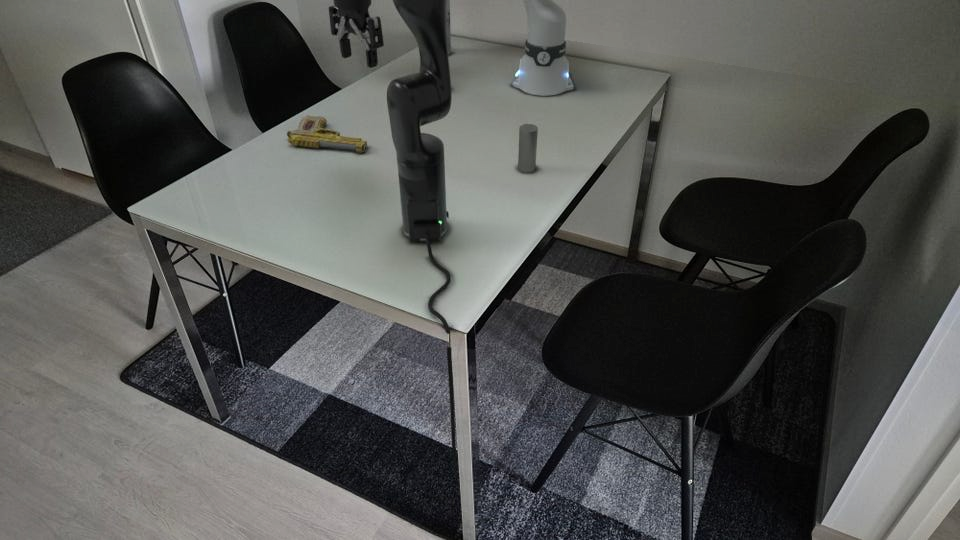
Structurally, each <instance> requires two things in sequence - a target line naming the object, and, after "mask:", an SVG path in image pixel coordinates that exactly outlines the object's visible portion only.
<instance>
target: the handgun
mask: <svg viewBox="0 0 960 540" xmlns="http://www.w3.org/2000/svg"><path fill="white" fill-rule="evenodd" d="M327 122H328V121H327V119H326V117H324V116H317V115H303V116H302V117H301V118H300V121H299V122H298V123H299V124H298V128H297V129H293V130H291V129H290V130H289V129H288V130H287V131H286V136H287V142H288V143H292V144H293V145H294V146H298V147H305V148H306V147H307V148H315V149H319V148H321V147H322V148H330V149H337V150H347V151H355V152H356V153H360V154H363V153H364V152H366V151H367V147H368V141H367V140H362V139H363V138H362V137H354V136H342V135H341V132H340V131H338V130H333V129H326V128H324V127H325V125H327Z"/></svg>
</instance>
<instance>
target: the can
mask: <svg viewBox="0 0 960 540" xmlns="http://www.w3.org/2000/svg"><path fill="white" fill-rule="evenodd" d="M518 131H519V133H518V155H517V156H518V157H517V158H518V159H517V170H518V171H519V172H520V173H524V174H530V173H533V172H535V171H536V167H537V148H538V133H539V132H538V131H539V127H538V126H537V125H535V124H532V123H524V124H521V125H519V130H518Z"/></svg>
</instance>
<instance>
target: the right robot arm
mask: <svg viewBox="0 0 960 540" xmlns="http://www.w3.org/2000/svg"><path fill="white" fill-rule="evenodd" d="M522 1H523V4H524V7H525V12H526V19H527V20H526V21H527V22H526V23H527V35H526V39H525V44H524V55H523V56H522V57H521V58H520V59H519V66H518V67H519V68H518V71H516V73H515V77H516V78H515V79H514V80H513V81H512V87H514V88H517V89H520V91H522V92H524V93H526V94H529V95H533V96H542V97H546V96H547V97H548V96H549V97H550V96H556V95H560V94H562V93H564V92H569V91H572V90H574V89H575V88H574V87H575V86H574V83H573V80H572V78H571V76H570V71H569V69H570V62H569V60H568V59H567V58H566V56H565V55H566V49H567V41H566V39H565V38H566V27H567V15H566V12H565V11H564V9H563V8H562V7H561V6H560V5H559V4H557V3H556V2H554V0H522Z"/></svg>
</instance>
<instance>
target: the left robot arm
mask: <svg viewBox="0 0 960 540" xmlns="http://www.w3.org/2000/svg"><path fill="white" fill-rule="evenodd" d="M332 1H333V5H330V6H328V16H329V26H330V34H331V35H332V36H335V37H336V39H337V41H338V42H339V49H340V54H341V58H342V59H347V58H350V57H352V46H351V39H350V38H349V37H350V35H351V34H353V35H355V36H356V37H357V38H358V41H359V42H362V44H363V46H364V48H365V56H366V65H367V68H369V69H372V68H375V67H377V66H378V63H379V59H378V49H379V48H383V47H384V37H383V36H384V35H383V29H382V21H381V20H382V19H381V17H380V15H379V16H371V14H370V12H369V8H370V7H371V5H372V0H332ZM392 3H393V6H394V8H395V10H396V11H397V12H398V15H399V16H400V17H401V19H402V20H403V22H404V23H405V25H406V26H407V28H408V30H409V31H410V32H411V35H413V37H414V39H415V40H416V44H417V47H418V52H419V71H418V72H415V73H411V74H407V75H403V76H400V77H397V78H394V79H392V80H391V81H390V82H389V84H388V85H387V88H386V105H387V111H388V118H389V125H390V131H391V132H390V133H391V139H392V143H393V146H394V150H395V153H396V154H395V155H396V163H397V176H398V185H399V197H400V208H401V218H402V219H401V220H402V233H403V234H404V236H405V237H406V238H407V239H408V240H409V242H410V243H426V247H427V253H428V257H429V260H430V262H431V263H432V264H433V266H435V267H436V268H437V269H438V270H439V271H441V272H442V273H444V274H445V277H446V281H445V283H444V284H442V285H441V286H440V287H439V288H438V289H437V290H436V291H434V293H432V294H431V296H430V297H429V300H428V302H427V307H428V310H429V312H430V313H431V314H432V315H434V316H435V317H436V318H437V319H438V320H440V322H441V324H442V325H443V328H444V330H445V333H446V334H447V335H449V334H451V329H450V326H449V323H448V322H447V320H446V318H445V317H444V316H443V314H440V312H438V311H437V310H436V309H435V308H434V307H433V303H434V300H435V299H436V297H438V296H439V294H441V293H442V292H443V291H445V290H446V288H448V286H449V285H450V283H451V274H450V272H449V271H448V270H447V268H445V267H443V266H442V265H441V264H440V263H439V262H437V260H436V259H435V257H434V254H433V249H432V244H431V243H432V242H435V243H436V242H440V241H441V238H443V237H444V236H446V234H447V232H448V229H449V227H448V225H449V224H448V219H449V218H450V217H449V215H450V214H449V211H448V210H447V190H446V188H447V187H446V166H445V165H446V164H445V163H446V162H445V145H444V142H443V140H442V139H441V138H440V137H438V136H436V135H434V134H430V133H425V132H422V130H421V127H422V126H425V125H428V124H432V123H434V122H437V121H439V120H442V119H444V118H445V117H447V116H448V114H449V113H450V110H451V107H452V97H453V96H452V95H453V93H452V81H451V69H450V62H449V55H448V49H447V23H446V0H392ZM336 24H337V26H336ZM366 32H367V33H366ZM376 39H377V40H376ZM446 360H447V362H446V363H447V373H448V374H447V375H448V390H449V391H448V392H449V408H450V409H449V411H450V433H451V455H452V474H453V477H454V476H457V475H458V470H457V469H458V468H457V467H458V466H457V446H456V445H457V444H456V443H457V442H456V417H455V416H456V415H455V393H454V376H453V375H454V374H453V359H452V347H451V346H447V347H446Z"/></svg>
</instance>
